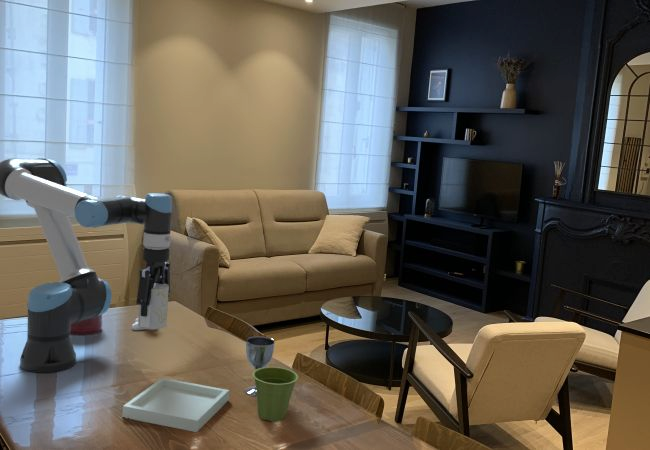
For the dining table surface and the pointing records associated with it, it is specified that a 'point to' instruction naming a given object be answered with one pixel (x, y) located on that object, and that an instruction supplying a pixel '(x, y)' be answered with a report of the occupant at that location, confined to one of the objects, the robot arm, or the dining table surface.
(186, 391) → the tray
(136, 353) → the dining table surface
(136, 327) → the sitting furry creature
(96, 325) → the canister
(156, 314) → the white round cylinder
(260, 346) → the wine glass
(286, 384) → the plant pot
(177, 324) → the dining table surface
